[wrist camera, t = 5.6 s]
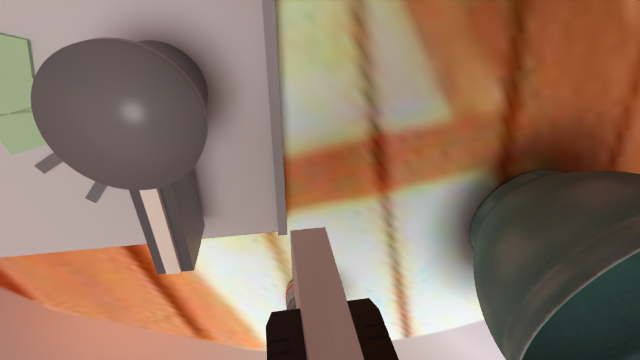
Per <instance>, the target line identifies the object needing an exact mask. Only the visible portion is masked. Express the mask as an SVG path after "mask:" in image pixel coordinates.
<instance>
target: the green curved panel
mask: <svg viewBox="0 0 640 360" xmlns="http://www.w3.org/2000/svg"><path fill="white" fill-rule="evenodd" d="M34 77H35V72H34V65H33V57H32V50H31V43H30V40H29V39H25V38H21V37H16V36H12V35H7V34H3V33H0V114H4V115H0V142H1V143H2V144H3V145H4V146H5V147H6V149H7V150H8V151H9V152H10V153H11V154H12V155H13V154H16V153H20V152H23V151H26V150H30V149H33V148H36V147H39V146H43V145H46V144H47V143H46V142H45V140H44V139H43V137H42V135H41V134H40V132H39V130H38V128H37V125H36V123H35V120H34V117H33V113H32V109H31V88H32V84H33V80H34ZM62 162H63V161H62V160H61V159H60V158H59V157H58V156H57V155H56V154H55V153H52V154H51V155H49V156H48V157H46V158H45V159H43V160H42V161H40V162H39V163H37V164H36V165H35V167H36V168H37V169H38V170H40V171H41V172H42V173H44V174H45V173H47V172H48V171H50V170H51V169H53V168H54V167H56V166H57V165H59V164H60V163H62ZM106 187H107V185H103V184H101V183H98V182H96V181H95V183H94V184H93V186H92V188H91V189H90V191H89V192H88V194H87V196H86V197H85V199H87V200H89V201H92V202H94V203H96V202H97V201H98V199H99V198H100V196H101V195H102V193H103V192H104V190H105V188H106ZM137 216H138V215H137Z"/></svg>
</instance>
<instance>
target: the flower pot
mask: <svg viewBox="0 0 640 360" xmlns="http://www.w3.org/2000/svg"><path fill="white" fill-rule="evenodd" d="M470 242H471V245H472V248H473V250H474V280H475V286H476V291H477V296H478V300H479V303H480V307H481V310H482V313H483V316H484V319H485V321H486V324H487V326H488V328H489V330H490V333H491V335H492V336H493V338H494V340H495V342H496V344H497V346H498V348H499V349H500V351H501V353H502V354H503V355H504V357H505V359H506V360H640V174H635V173H627V172H615V171H579V172H569V173H562V172H559V171H554V170H537V171H532V172H528V173H525V174H523V175H520V176H517V177H515V178H513V179H511V180H510V181H508V182H506V183H505V184H503V185H502V186H500V187H499V188H498V189H496V190H495V191H494V192H493V193H492V194H491V195H490V196H489V197H488V198H487V199H486V200H485V201H484V202H483V203H482V205H481V206H480V208H479V209H478V211H477V212H476V214H475V216H474V218H473V221H472V224H471V228H470Z"/></svg>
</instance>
